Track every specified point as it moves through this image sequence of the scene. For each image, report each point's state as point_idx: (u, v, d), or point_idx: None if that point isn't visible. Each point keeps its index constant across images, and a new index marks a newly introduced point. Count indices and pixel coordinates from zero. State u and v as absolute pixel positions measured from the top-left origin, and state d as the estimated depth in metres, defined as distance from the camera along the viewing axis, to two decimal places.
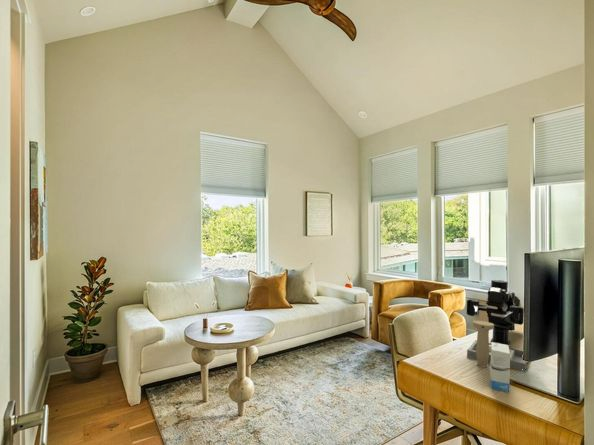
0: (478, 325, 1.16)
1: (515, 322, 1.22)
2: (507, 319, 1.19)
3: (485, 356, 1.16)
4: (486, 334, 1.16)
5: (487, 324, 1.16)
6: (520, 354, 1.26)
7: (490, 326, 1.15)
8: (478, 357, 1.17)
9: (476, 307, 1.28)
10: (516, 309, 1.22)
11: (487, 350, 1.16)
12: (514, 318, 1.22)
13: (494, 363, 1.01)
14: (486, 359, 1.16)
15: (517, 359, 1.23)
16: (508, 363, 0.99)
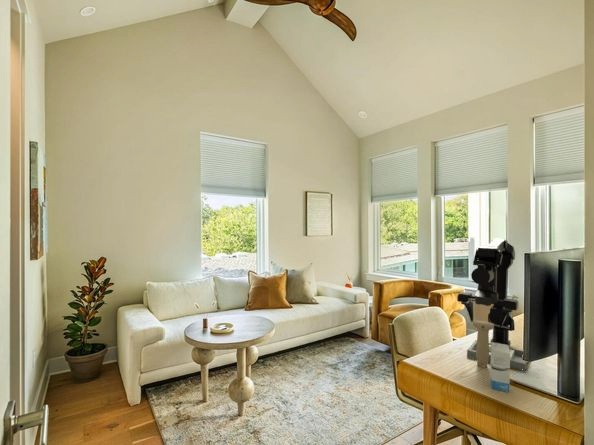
0: (478, 325, 1.16)
1: None
2: (503, 322, 1.19)
3: (485, 356, 1.16)
4: (486, 334, 1.16)
5: (487, 324, 1.16)
6: (520, 354, 1.26)
7: (490, 326, 1.15)
8: (478, 357, 1.17)
9: (469, 311, 1.24)
10: (509, 311, 1.15)
11: (487, 350, 1.16)
12: None
13: (494, 363, 1.01)
14: (486, 359, 1.16)
15: (517, 359, 1.23)
16: (508, 363, 0.99)
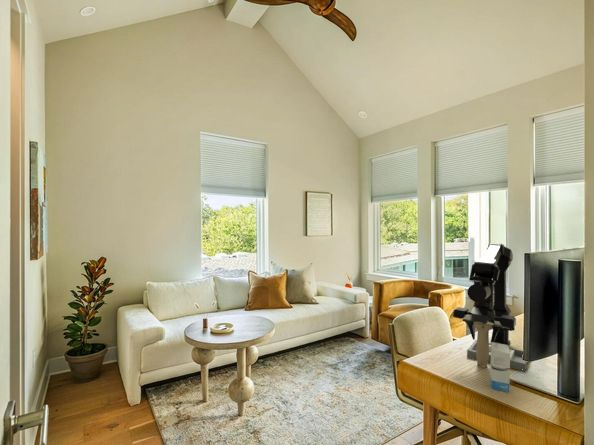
0: (478, 325, 1.16)
1: None
2: (494, 338, 1.16)
3: (485, 356, 1.16)
4: (486, 334, 1.16)
5: (487, 324, 1.16)
6: (520, 354, 1.26)
7: (490, 326, 1.15)
8: (478, 357, 1.17)
9: (471, 328, 1.19)
10: None
11: (487, 350, 1.16)
12: None
13: (494, 363, 1.01)
14: (486, 359, 1.16)
15: (517, 359, 1.23)
16: (508, 363, 0.99)
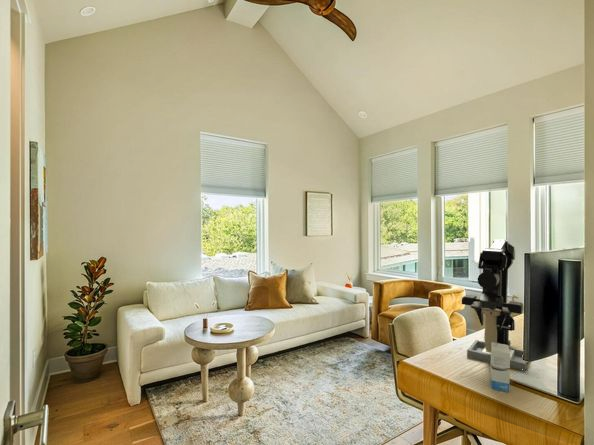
0: (486, 311, 1.20)
1: None
2: (502, 324, 1.20)
3: (493, 341, 1.20)
4: (494, 320, 1.20)
5: (495, 310, 1.20)
6: (520, 354, 1.26)
7: (498, 312, 1.18)
8: (486, 342, 1.21)
9: (479, 314, 1.23)
10: (508, 313, 1.16)
11: (495, 335, 1.20)
12: None
13: (494, 363, 1.01)
14: None
15: (517, 359, 1.23)
16: (508, 363, 0.99)
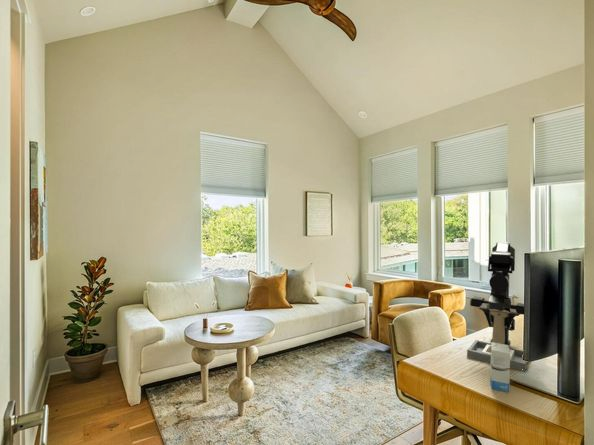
0: (494, 313, 1.24)
1: None
2: None
3: (501, 342, 1.23)
4: (502, 321, 1.23)
5: (503, 312, 1.23)
6: (520, 354, 1.26)
7: (506, 313, 1.22)
8: None
9: (487, 316, 1.26)
10: None
11: (503, 336, 1.23)
12: None
13: (494, 363, 1.01)
14: None
15: (517, 359, 1.23)
16: (508, 363, 0.99)
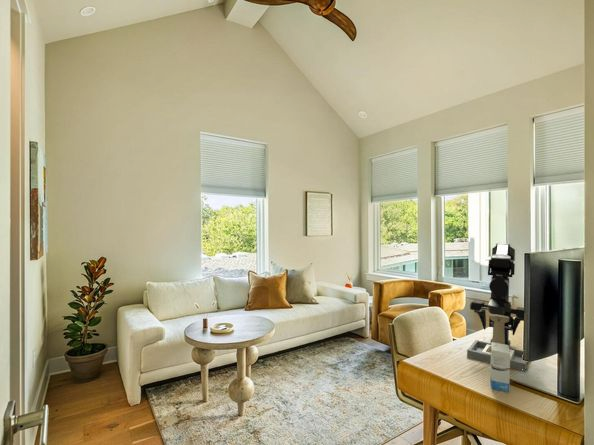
0: (494, 318, 1.24)
1: None
2: (515, 330, 1.22)
3: None
4: (502, 327, 1.23)
5: (503, 317, 1.23)
6: (520, 354, 1.26)
7: (506, 319, 1.22)
8: None
9: (482, 319, 1.27)
10: (522, 320, 1.18)
11: (503, 342, 1.23)
12: None
13: (494, 363, 1.01)
14: None
15: (517, 359, 1.23)
16: (508, 363, 0.99)
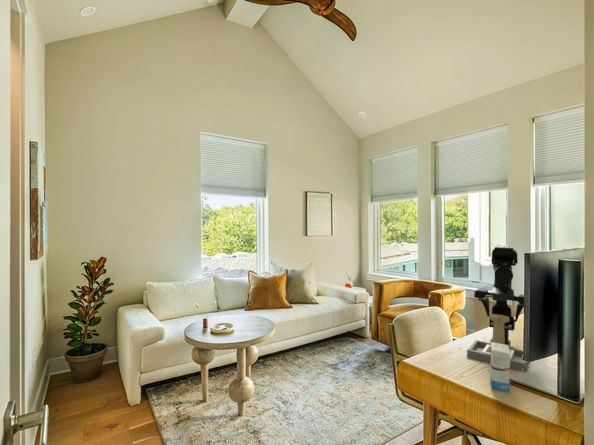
0: (494, 318, 1.24)
1: None
2: None
3: None
4: (502, 327, 1.23)
5: (503, 317, 1.23)
6: (520, 354, 1.26)
7: (506, 319, 1.22)
8: None
9: (486, 306, 1.32)
10: None
11: (503, 342, 1.23)
12: None
13: (494, 363, 1.01)
14: None
15: (517, 359, 1.23)
16: (508, 363, 0.99)
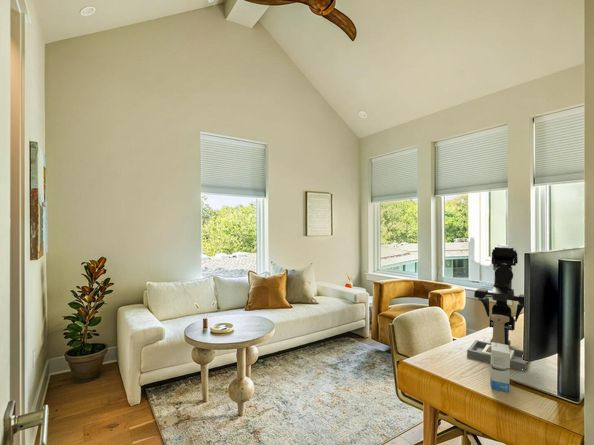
0: (494, 318, 1.24)
1: None
2: None
3: None
4: (502, 327, 1.23)
5: (503, 317, 1.23)
6: (520, 354, 1.26)
7: (506, 319, 1.22)
8: None
9: (486, 306, 1.32)
10: None
11: (503, 342, 1.23)
12: None
13: (494, 363, 1.01)
14: None
15: (517, 359, 1.23)
16: (508, 363, 0.99)
